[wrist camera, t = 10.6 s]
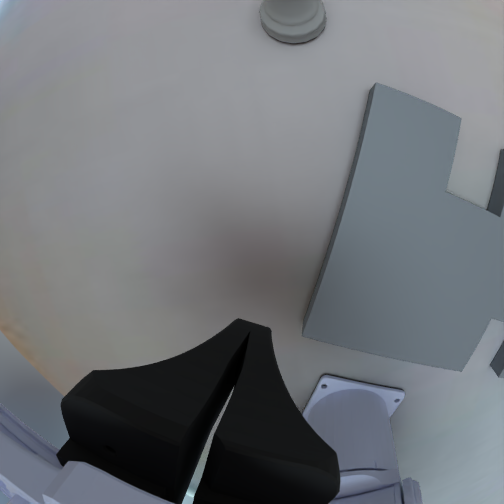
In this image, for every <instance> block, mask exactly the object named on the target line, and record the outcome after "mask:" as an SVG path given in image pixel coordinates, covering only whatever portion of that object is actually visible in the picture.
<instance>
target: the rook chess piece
mask: <svg viewBox="0 0 504 504" xmlns="http://www.w3.org/2000/svg"><path fill="white" fill-rule="evenodd" d="M259 13H260V18H261V22H262V27H263V28H264V29H265V30H266V32H267V33H268V34H269V35H270V36H272V37H274V38H276V39H277V40H279V41H283V42H288V43H300V42H307V41H309V40H311V39H313V38H315V37H317V36H318V35H319V34H320V33H321V31H322V30H323V29H324V28H325V23H326V19H327V18H326V15H325V14H326V12H325V9H324V5H323V3H322V1H321V0H263V1H262V4H261V7H260V11H259Z"/></svg>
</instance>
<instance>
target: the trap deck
mask: <svg viewBox="0 0 504 504" xmlns="http://www.w3.org/2000/svg"><path fill="white" fill-rule="evenodd" d="M460 124H461V118H460V117H458V116H456V115H454V114H452V113H450V112H448V111H446V110H444V109H441V108H439V107H437V106H435V105H433V104H430V103H428V102H426V101H423V100H421V99H419V98H416V97H414V96H411V95H409V94H406V93H404V92H401V91H399V90H396V89H393V88H391V87H388V86H385V85H382V84H379V83H375V84H374V86H373V87H372V88H371V90H370V93H369V98H368V102H367V107H366V111H365V116H364V120H363V124H362V129H361V133H360V137H359V141H358V145H357V149H356V153H355V157H354V161H353V165H352V168H351V172H350V176H349V180H348V183H347V187H346V190H345V194H344V198H343V201H342V205H341V208H340V211H339V215H338V218H337V222H336V225H335V228H334V231H333V235H332V238H331V241H330V244H329V248H328V251H327V254H326V257H325V260H324V263H323V266H322V269H321V272H320V275H319V278H318V281H317V284H316V287H315V290H314V293H313V296H312V299H311V301H310V304H309V307H308V310H307V313H306V315H305V318H304V321H303V329H302V336H303V337H307V338H311V339H314V340H318V341H322V342H326V343H330V344H333V345H337V346H341V347H345V348H349V349H354V350H358V351H362V352H366V353H370V354H375V355H379V356H384V357H388V358H393V359H397V360H402V361H407V362H412V363H417V364H422V365H427V366H432V367H437V368H443V369H449V370H454V371H460V372H462V370H463V369H464V367H465V365H466V364H467V362H468V361H469V359H470V357H471V355H472V354H473V352H474V350H475V349H476V347H477V345H478V343H479V341H480V340H481V338H482V336H483V334H484V332H485V330H486V328H487V326H488V324H489V322H490V320H491V318H492V319H495V320H499V321H502V322H504V149H503V150H501V153H500V158H499V163H498V168H497V173H496V178H495V182H494V186H493V190H492V194H491V198H490V202H489V206H488V209H487V210H485V209H482V208H480V207H478V206H476V205H474V204H472V203H470V202H468V201H465V200H463V199H461V198H459V197H457V196H454V195H452V194H450V193H447V192H446V188H447V184H448V180H449V176H450V172H451V168H452V164H453V160H454V155H455V150H456V146H457V141H458V135H459V130H460ZM490 366H491V367H492V369H493V370H494V371H495V373H496V374H497V376H498V377H500V378H504V342H503V344H502V346H501V347H500V349H499V351H498V353H497V354H496V356H495V358H494V359H493V361H492V363H491V364H490Z"/></svg>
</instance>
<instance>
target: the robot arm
mask: <svg viewBox="0 0 504 504" xmlns="http://www.w3.org/2000/svg"><path fill="white" fill-rule="evenodd" d="M271 332H272V331H271V329H270V328H269V327H265V326H262V325H259V324H255V323H252V322H249V321H245V320H242V319H239V318H238V319H236V320H234V321H233V322H232V323H231V324H230V325H229V326H227V327H226V328H225V329H223V330H222V331H221V332H219V333H218V334H216V335H215V336H213V337H212V338H210V339H209V340H207V341H206V342H204V343H202V344H200V345H198V346H197V347H195V348H193V349H191V350H189V351H187V352H185V353H182V354H180V355H178V356H175V357H173V358H170V359H167V360H163V361H160V362H157V363H153V364H149V365H144V366H139V367H133V368H126V369H114V370H93V371H92V372H91V373H89V374H88V375H87V376H85V377H84V378H83V379H82V380H81V381H80V382H79V383H78V384H77V385H76V386H75V387H74V388H73V389H72V390H71V391H70V392H69V393H68V394H67V395H66V396H65V397H64V398H63V399H62V402H61V410H62V415H63V419H64V422H65V425H66V428H67V431H68V434H69V437H70V438H69V440H68V441H67V442H66V443H65V444H64V445H63V447H62V448H61V449H60V450H59V449H58V448H56V447H55V446H53V445H52V444H51V443H49V442H48V441H46V440H45V439H44V438H42V437H41V436H40V435H38V434H37V433H36V432H34V431H33V430H32V429H31V428H29V427H28V426H27V425H26V424H24V423H23V422H22V421H21V420H19V419H18V418H17V417H16V416H15V415H13V414H12V413H11V412H10V411H9V410H8V409H7V408H5V406H3V405H2V404H1V403H0V490H1V491H2V492H3V493H4V494H5V495H6V496H7V497H8V498H9V499H10V501H9V502H8V503H7V504H182V501H183V499H184V497H185V494H186V492H187V489H188V487H189V484H190V482H191V479H192V477H193V474H194V472H195V469H196V467H197V464H198V462H199V459H200V457H201V454H202V452H203V449H204V447H205V444H206V442H207V439H208V437H209V434H210V432H211V430H212V428H213V426H214V424H215V422H216V420H217V418H218V416H219V414H220V412H221V410H222V408H223V406H224V405H225V403H226V401H227V399H228V397H229V395H230V393H231V391H232V389H233V387H234V390H233V393H232V396H231V398H230V400H229V403H228V405H227V407H226V410H225V412H224V414H223V416H222V418H221V420H220V423H219V425H218V427H217V429H216V431H215V433H214V436H213V440H212V443H211V447H210V451H209V454H208V458H207V461H206V465H205V468H204V472H203V475H202V478H201V481H200V483H199V486H198V488H197V490H196V493H195V496H194V501H193V504H423V502H422V496H421V491H420V485H419V482H417V481H415V480H412V478H411V477H408V478H406V479H404V480H402V481H403V485H402V482H401V478H400V474H399V469H398V463H397V457H396V451H395V445H394V440H393V434H392V429H391V424H390V419H389V418H390V417H391V415H392V414H393V413H394V411H395V410H396V408H397V407H398V406H399V404H400V403H401V401H402V400H403V398H404V397H405V393H404V391H403V390H399V389H393V388H387V387H382V386H377V385H372V384H367V383H362V382H357V381H352V380H348V379H343V378H339V377H334V376H330V375H324V376H322V377H321V378H320V380H319V382H318V384H317V386H316V388H315V390H314V392H313V394H312V396H311V398H310V400H309V402H308V404H307V406H306V408H305V410H304V412H303V413H302V414H301V413H300V411H299V410H298V408H297V407H296V405H295V403H294V402H293V400H292V398H291V396H290V394H289V392H288V390H287V388H286V386H285V384H284V381H283V379H282V376H281V374H280V371H279V368H278V365H277V361H276V358H275V354H274V350H273V344H272V336H271ZM323 384H326V385H325V386H322V385H323ZM234 385H235V386H234ZM395 399H397V400H395Z"/></svg>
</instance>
